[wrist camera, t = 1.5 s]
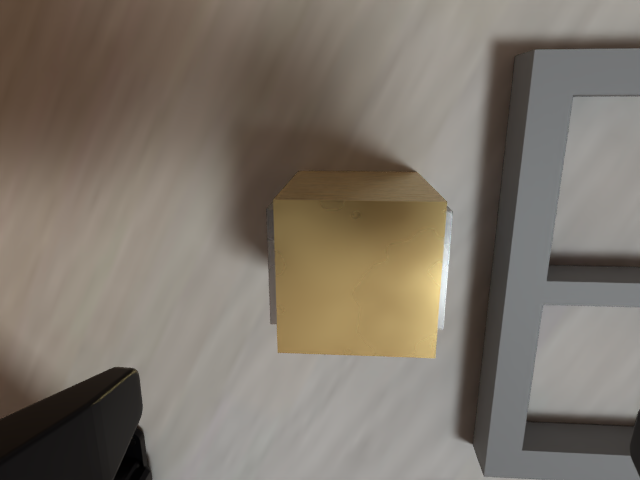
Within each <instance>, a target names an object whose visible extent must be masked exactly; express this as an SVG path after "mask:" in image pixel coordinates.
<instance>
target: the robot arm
mask: <svg viewBox="0 0 640 480" xmlns="http://www.w3.org/2000/svg"><path fill="white" fill-rule="evenodd" d="M142 408H143V404H142V395H141V386H140V378H139V373H138V371H137V370H136V369H134V368H124V367H114V368H111V369H109V370H107V371H105V372H102V373H100V374H98V375H96V376H94V377H91V378H89V379H87V380H85V381H83V382H81V383H78V384H76V385H74V386H72V387H70V388H67V389H65V390H63V391H61V392H59V393H56V394H54V395H52V396H50V397H48V398H45V399H43V400H41V401H39V402H37V403H34V404H32V405H30V406H28V407H26V408H24V409H21V410H19V411H17V412H15V413H13V414H10V415H8V416H6V417H4V418H2V419H0V480H152V475H151V470H150V469H149V467H148V464H147V456H146V448H145V441H144V435H143V433H142V432H141V430H139V429H137V428H136V427H137V425H138V423H139V421H140V418H141V415H142ZM132 437H133V438H134V439H135V440H133V439H132ZM629 450H630V456H631V459H632V462H633V464H634V466H635V468H636V470H637V473H638V475H639V477H640V410H639V412H638V415H637V418H636V422H635V426H634V429H633V433H632V437H631V440H630V448H629Z"/></svg>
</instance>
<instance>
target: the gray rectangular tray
mask: <svg viewBox="0 0 640 480" xmlns="http://www.w3.org/2000/svg"><path fill="white" fill-rule="evenodd" d="M573 96H640V48H630V49H536V50H532V51H529V52H526V53H523V54H520V55H517V56H515V62H514V71H513V80H512V89H511V99H510V108H509V117H508V126H507V136H506V145H505V154H504V163H503V173H502V182H501V191H500V200H499V209H498V219H497V228H496V237H495V246H494V256H493V265H492V274H491V283H490V292H489V302H488V311H487V320H486V329H485V339H484V348H483V357H482V366H481V376H480V385H479V394H478V403H477V412H476V422H475V431H474V440H473V447H474V450H475V453H476V455H477V458H478V461H479V464H480V467H481V469H482V472H483V475H484V477H503V478H522V479H541V480H640V477H639V475H638V473H637V470H636V468H635V466H634V464H633V462H632V459H631V456H630V450H629V448H630V440H631V437H632V433H633V429H634V426H611V425H589V424H566V423H543V422H526V419H527V412H528V405H529V398H530V392H531V385H532V378H533V371H534V364H535V357H536V350H537V343H538V336H539V329H540V322H541V315H542V308H543V305H574V306H611V307H640V267H613V266H565V265H549V260H550V253H551V246H552V239H553V232H554V225H555V218H556V211H557V204H558V198H559V191H560V184H561V177H562V170H563V163H564V156H565V149H566V142H567V135H568V128H569V121H570V114H571V108H572V101H573Z"/></svg>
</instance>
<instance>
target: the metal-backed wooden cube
mask: <svg viewBox="0 0 640 480" xmlns="http://www.w3.org/2000/svg"><path fill="white" fill-rule="evenodd" d="M266 212H267V240H268V268H269V297H270V324H277V343H278V353H303V354H331V355H360V356H388V357H417V358H435V354H436V341H437V329H443V327H444V314H445V302H446V289H447V277H448V265H449V252H450V240H451V227H452V215H453V211H452V210H451V209H450V208H449V207H448V206H447V201H446V200H445V199H444V198H443V197H442V196H441V195H440V194H439V193H438V192H437V191H436V190H435V189H434V188H433V187H432V186H431V185H430V184H429V183H428V182H427V181H426V180H425V179H424V178H423V177H422V176H421V175H420V174H419V173H418V172H378V171H298V172H297V173H296V175H295V176H294V177H293V178H292V179H291V180H290V181H289V182H288V184H287V185H286V186H285V187H284V188H283V189H282V190H281V191H280V193H279V194H278V195H277V196H276V197H275V198H274V199H273V202H272V203H271V204H270V206H269V207H268V208H267V209H266Z"/></svg>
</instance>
